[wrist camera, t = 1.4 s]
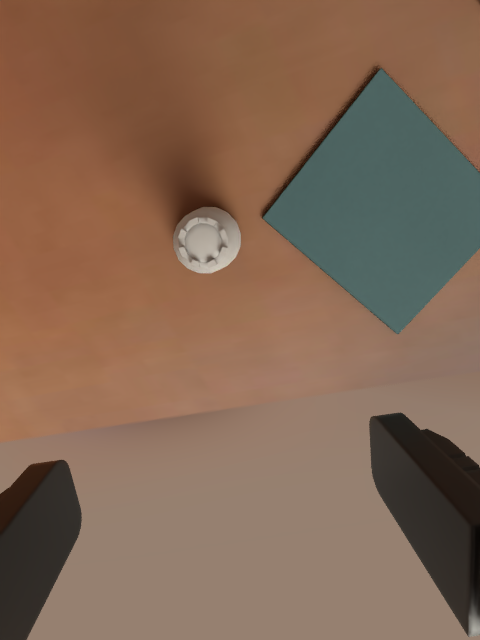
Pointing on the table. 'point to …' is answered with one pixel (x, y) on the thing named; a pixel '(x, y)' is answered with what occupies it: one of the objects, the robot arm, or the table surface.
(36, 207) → the table surface
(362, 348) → the table surface
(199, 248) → the rook chess piece
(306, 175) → the felt mat
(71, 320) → the table surface
